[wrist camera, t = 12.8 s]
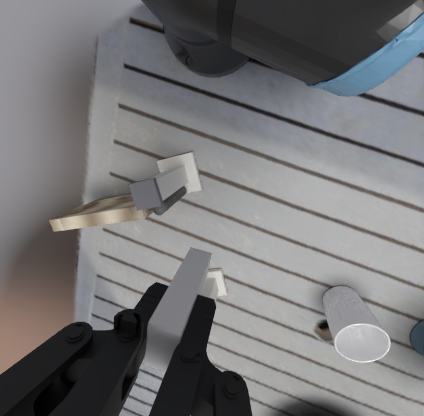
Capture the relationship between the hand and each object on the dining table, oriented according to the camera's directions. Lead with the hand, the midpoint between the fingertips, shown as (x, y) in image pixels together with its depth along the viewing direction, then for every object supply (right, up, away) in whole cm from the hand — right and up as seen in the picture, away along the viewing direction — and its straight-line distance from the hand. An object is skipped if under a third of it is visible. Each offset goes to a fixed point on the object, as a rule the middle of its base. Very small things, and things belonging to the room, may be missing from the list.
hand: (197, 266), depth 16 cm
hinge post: (-5, +10, +27) cm, 29 cm away
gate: (-13, +6, +28) cm, 32 cm away
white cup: (+26, -14, +29) cm, 42 cm away
